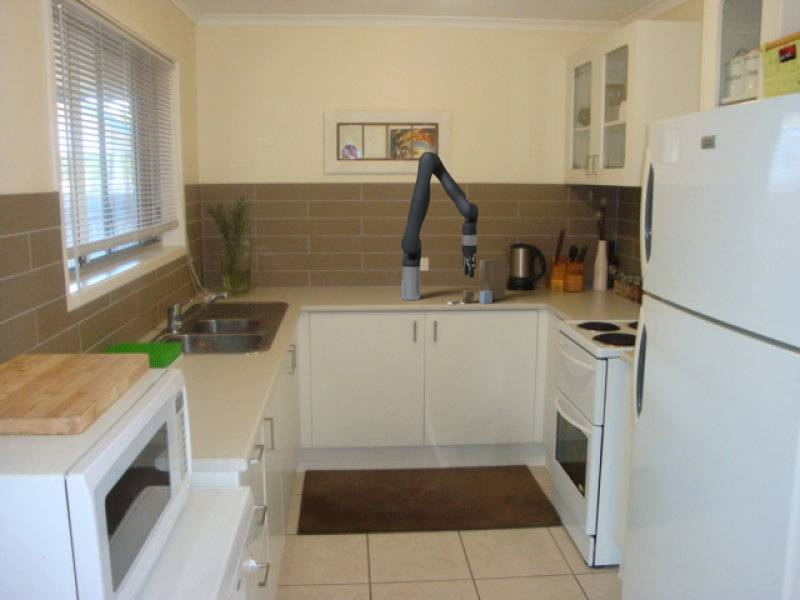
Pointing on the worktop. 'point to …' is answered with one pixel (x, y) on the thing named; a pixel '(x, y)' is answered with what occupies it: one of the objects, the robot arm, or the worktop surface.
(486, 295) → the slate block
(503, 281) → the wooden block
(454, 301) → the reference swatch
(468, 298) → the walnut block
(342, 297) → the worktop surface
